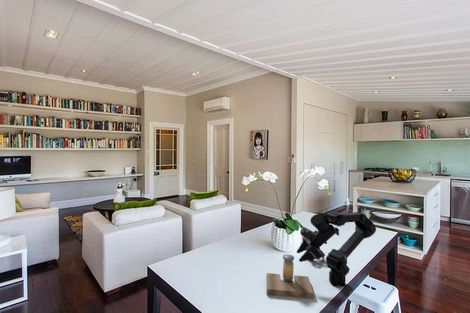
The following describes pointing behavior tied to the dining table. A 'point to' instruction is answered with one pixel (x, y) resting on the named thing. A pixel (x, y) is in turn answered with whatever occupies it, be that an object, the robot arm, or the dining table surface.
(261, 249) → the dining table surface
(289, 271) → the bobbin
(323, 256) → the pottery mug
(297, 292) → the notched board
